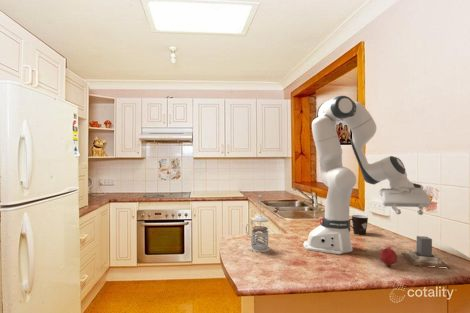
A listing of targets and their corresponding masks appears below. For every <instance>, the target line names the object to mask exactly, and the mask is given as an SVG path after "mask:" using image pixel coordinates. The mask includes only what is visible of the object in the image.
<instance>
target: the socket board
mask: <svg viewBox="0 0 470 313" xmlns="http://www.w3.org/2000/svg"><path fill="white" fill-rule="evenodd" d="M402 255H403V256H404V257H405V258H406V259H407V260H408V261H409V262H410V263H411V264H412V265H421V266H420V267H423V266H435V267H447V268H449V269H450V266H449V265H448V264H447V263H445V262H444V261H443V260H442V259H441V258H440V257H439V256H438V255H436V254H435V253H434V252H432V257H422V256H418V255H417V250H412V249H411V250H409V249H408V252H401V256H402ZM403 256H402V257H403ZM404 257H403V258H404ZM405 258H404V259H405ZM406 259H405V260H406ZM407 260H406V261H407ZM408 261H407V262H408ZM409 262H408V263H409ZM410 263H409V264H410ZM411 264H410V265H411ZM412 265H411V266H412Z"/></svg>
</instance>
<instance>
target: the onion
mask: <svg viewBox="0 0 470 313" xmlns="http://www.w3.org/2000/svg"><path fill="white" fill-rule="evenodd" d="M397 255H398V254H397V253H396V252H395V250H393V249H392V247H391V246H390V245H389V246H387V247H386V248H384V249H383V250H381V253H380V257H379V258H380V260H381V262H383V264H384V265H386V266H387V267H391V266H392V265H394V264H396V263H397V262H398V256H397Z"/></svg>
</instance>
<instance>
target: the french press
mask: <svg viewBox="0 0 470 313" xmlns="http://www.w3.org/2000/svg"><path fill="white" fill-rule="evenodd" d="M258 199H259V215H255V216H253V217H251V220H252V221H250V222H248V223H247V224H246V226H245V233H246V235H247V236H248V237H249V238H250V242H251V243H250V244H251V245H250V247H249V250H250V249H251V250H250V251H252V250H253V251H252V252H256V251H257V253H266V252H268V251H270V250H271V248H270V247H269V230H268V226H261V225H257V226H256V225H255V226H253V227H252V231H251V235H250V234H249V233H248V226H249V224H251V225H253V224H254V223H253V222H257V223H258V222H259V223H267V222H269V218H268V217H266V216H263V215H261V200H262V199H263V195H258Z"/></svg>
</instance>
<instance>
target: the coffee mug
mask: <svg viewBox="0 0 470 313" xmlns="http://www.w3.org/2000/svg"><path fill="white" fill-rule="evenodd" d="M349 219H350V221H352V223H351V224H352V225H351V224H350V228H352V231H353V234H354V235H356V234H359V235H358V236H365V235H364V234H366V235H367V228H368V227H367V226H368V220H369V216H368V215H362V214H352V215H351V218H349Z"/></svg>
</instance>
